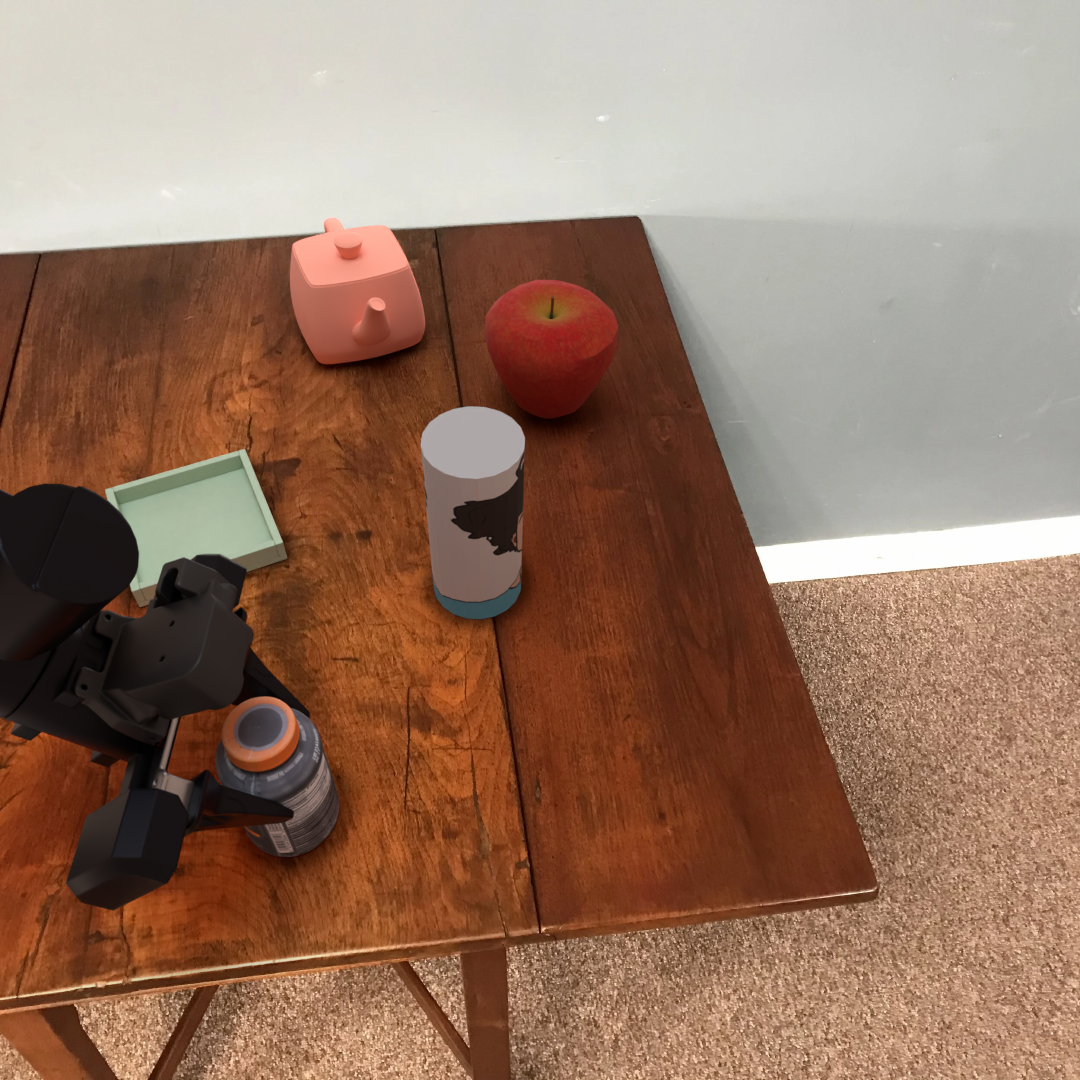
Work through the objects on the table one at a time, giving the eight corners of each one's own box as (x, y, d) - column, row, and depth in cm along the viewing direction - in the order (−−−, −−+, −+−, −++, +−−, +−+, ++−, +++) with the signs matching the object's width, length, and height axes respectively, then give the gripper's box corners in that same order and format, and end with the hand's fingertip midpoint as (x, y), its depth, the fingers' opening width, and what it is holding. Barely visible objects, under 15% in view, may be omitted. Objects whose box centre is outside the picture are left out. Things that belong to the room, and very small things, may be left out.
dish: (139, 607, 69) (131, 591, 68) (112, 506, 76) (104, 489, 74) (287, 558, 73) (283, 542, 71) (249, 465, 79) (244, 448, 78)
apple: (632, 402, 86) (647, 290, 77) (558, 465, 80) (565, 353, 71) (538, 351, 90) (542, 240, 81) (463, 408, 85) (457, 295, 75)
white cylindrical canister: (535, 601, 71) (542, 460, 59) (452, 631, 69) (443, 491, 57) (500, 539, 75) (500, 395, 63) (420, 565, 73) (405, 422, 61)
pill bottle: (238, 787, 61) (194, 696, 52) (329, 759, 62) (301, 665, 53) (254, 873, 57) (209, 790, 48) (350, 841, 58) (324, 755, 50)
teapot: (393, 275, 98) (384, 181, 90) (450, 382, 87) (444, 286, 79) (283, 298, 94) (263, 203, 86) (328, 411, 84) (310, 314, 76)
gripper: (45, 789, 36) (370, 892, 44) (164, 445, 48) (401, 580, 56) (-70, 869, 41) (237, 946, 50) (62, 544, 53) (291, 652, 62)
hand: (298, 766), depth 54 cm, fingers closed on pill bottle, 6 cm apart
